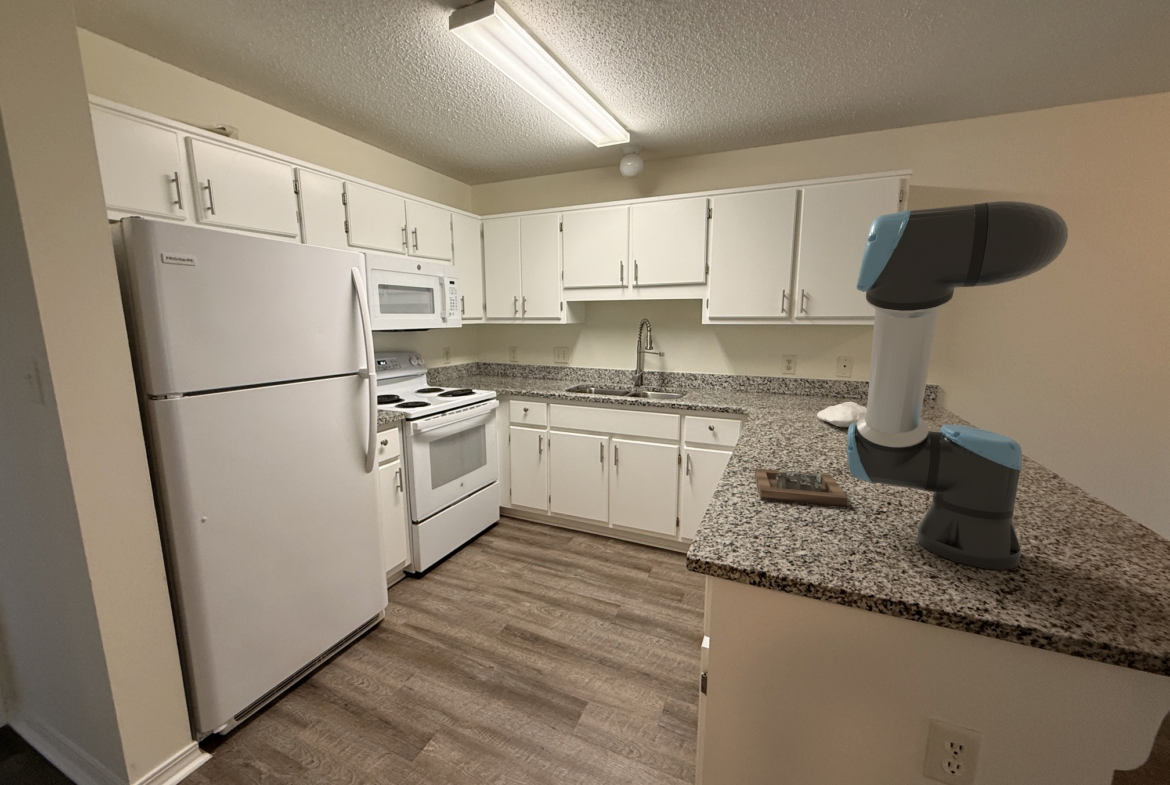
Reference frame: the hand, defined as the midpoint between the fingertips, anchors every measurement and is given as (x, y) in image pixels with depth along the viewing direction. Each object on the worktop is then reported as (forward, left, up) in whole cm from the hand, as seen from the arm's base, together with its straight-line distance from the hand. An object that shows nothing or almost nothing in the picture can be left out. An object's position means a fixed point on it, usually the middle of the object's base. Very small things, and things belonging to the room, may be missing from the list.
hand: (894, 379), depth 114 cm
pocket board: (-8, +22, -29) cm, 37 cm away
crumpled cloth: (+78, -11, -29) cm, 84 cm away
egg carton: (-8, +22, -28) cm, 36 cm away
